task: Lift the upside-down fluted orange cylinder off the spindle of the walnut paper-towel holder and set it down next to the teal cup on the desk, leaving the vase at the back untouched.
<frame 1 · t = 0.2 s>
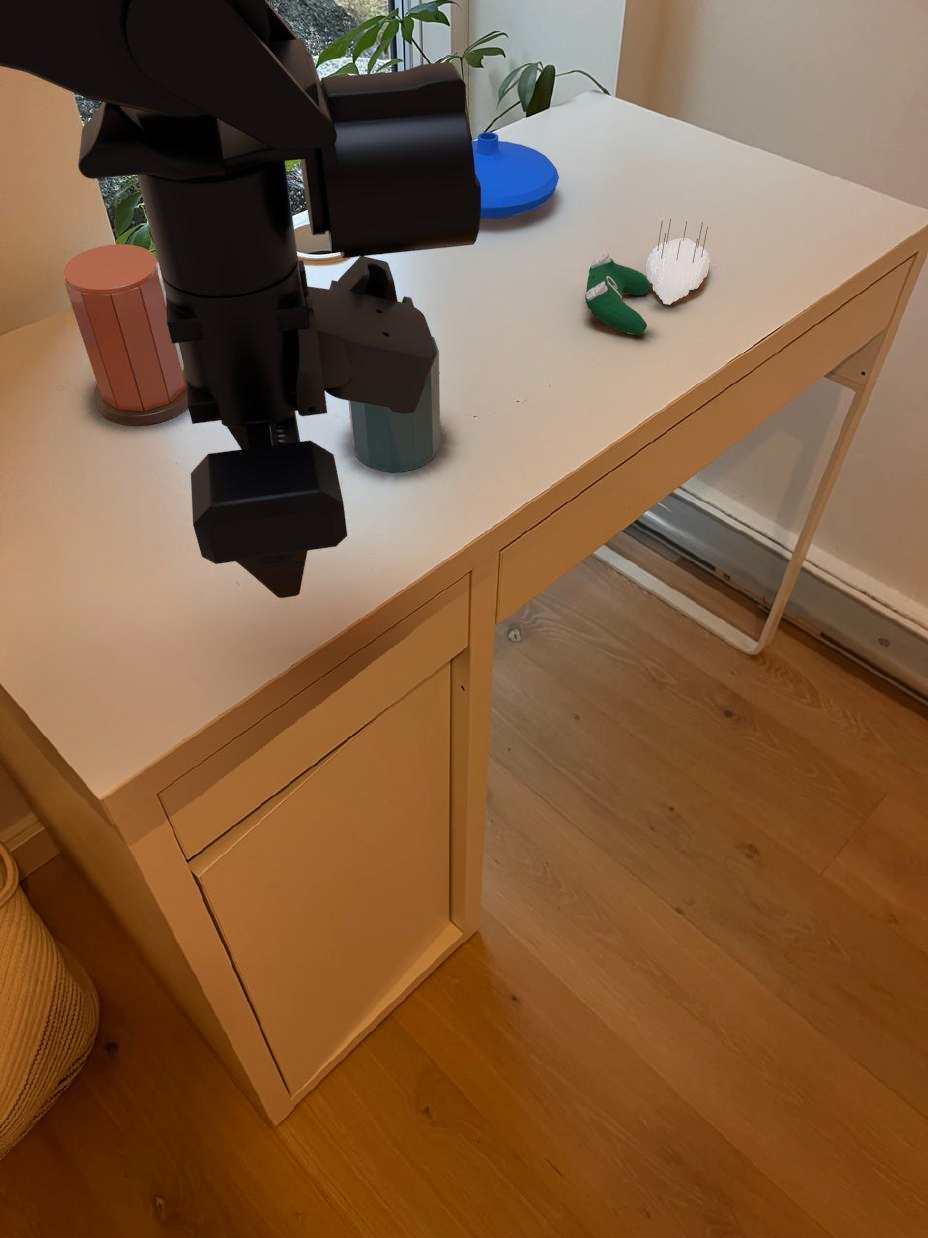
hand: (280, 534, 53), 14 cm above the table, tool pointing down, fingers open, 9 cm apart
teal cup: (396, 444, 80), on the table
towel holder: (147, 396, 84), on the table
pincushion: (675, 279, 98), on the table
vase: (486, 203, 109), on the table
green christmas stockings: (615, 313, 94), on the table
fluted orange cylinder: (144, 386, 83), point 1 cm above the table, touching towel holder
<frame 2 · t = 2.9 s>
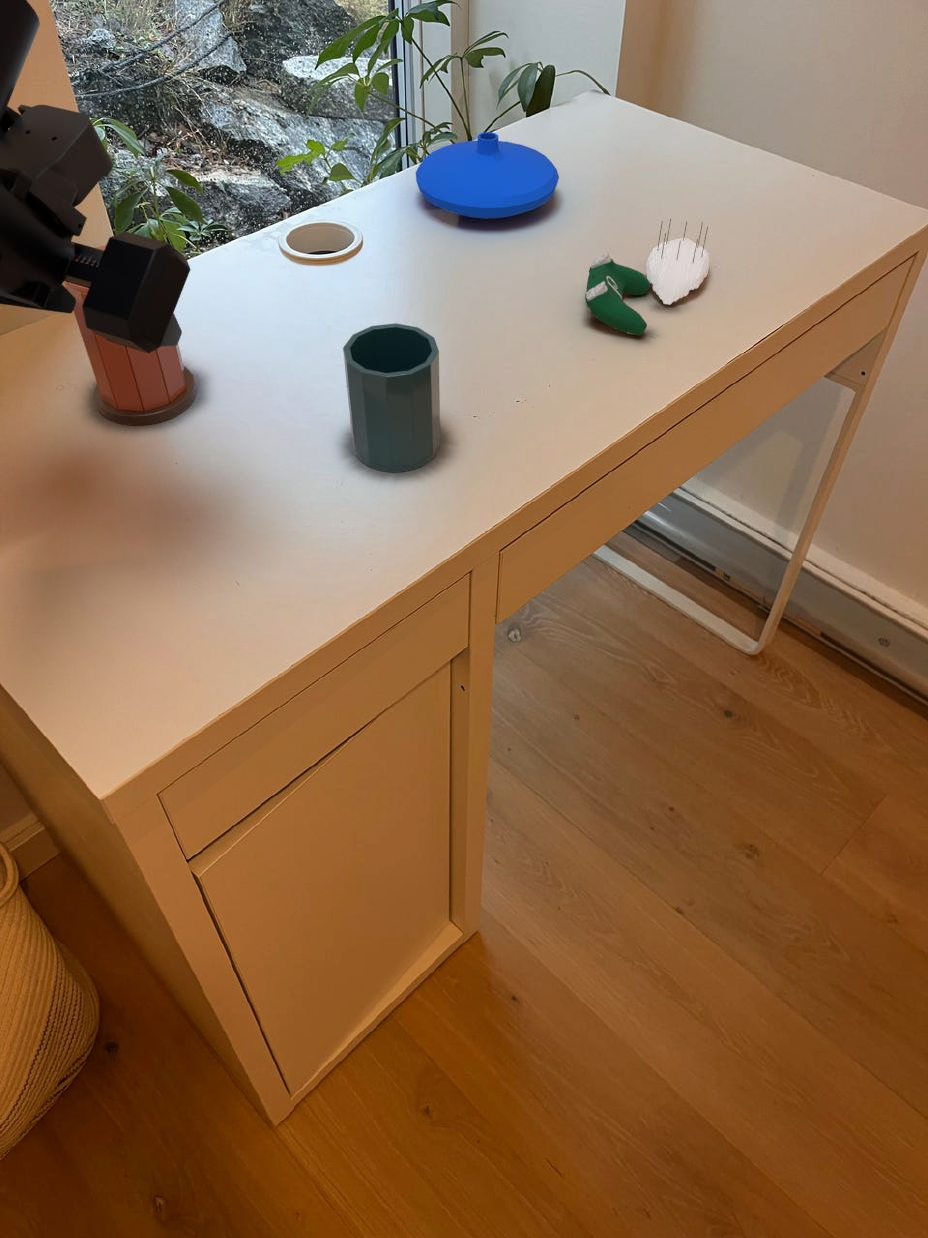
hand: (124, 321, 68), 13 cm above the table, tool tilted 35°, fingers open, 9 cm apart
nothing on the table moved.
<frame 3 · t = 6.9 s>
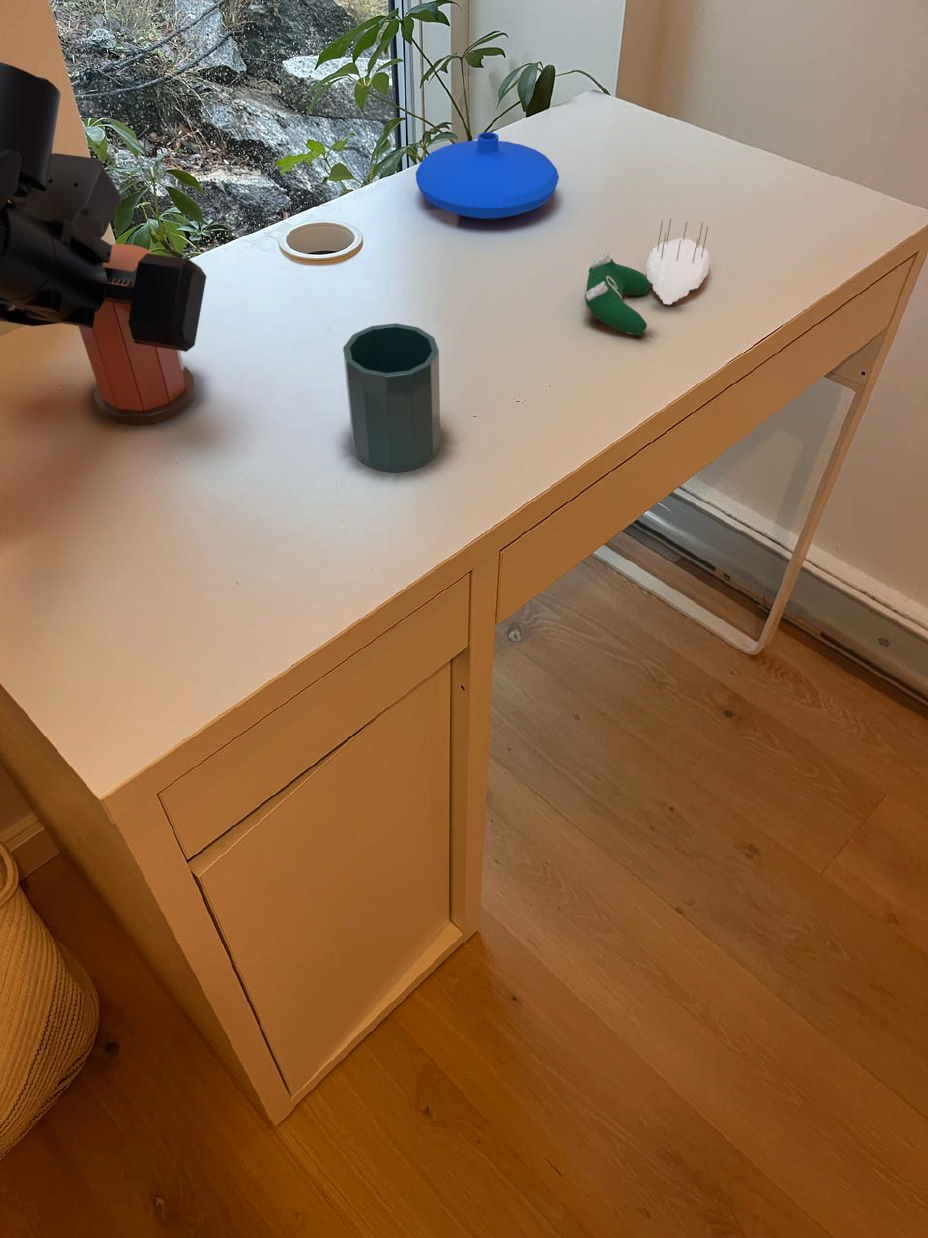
hand: (136, 319, 80), 7 cm above the table, tool tilted 45°, fingers closed on fluted orange cylinder, 7 cm apart
fluted orange cylinder: (144, 386, 83), point 1 cm above the table, touching gripper, towel holder
everything else where it was.
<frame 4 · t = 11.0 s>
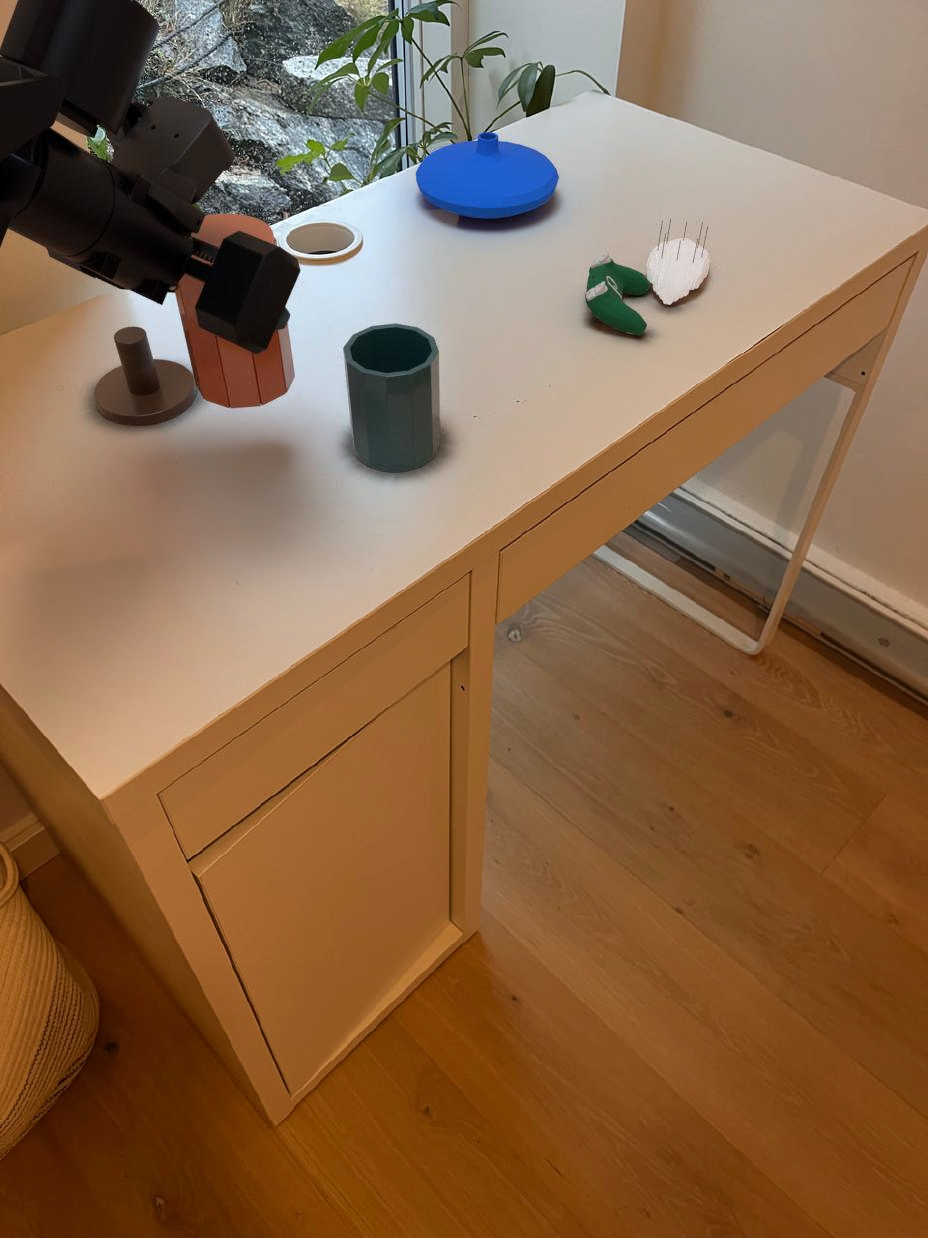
hand: (247, 303, 69), 13 cm above the table, tool tilted 45°, fingers closed on fluted orange cylinder, 7 cm apart
fluted orange cylinder: (245, 379, 72), point 8 cm above the table, touching gripper
everything else where it was.
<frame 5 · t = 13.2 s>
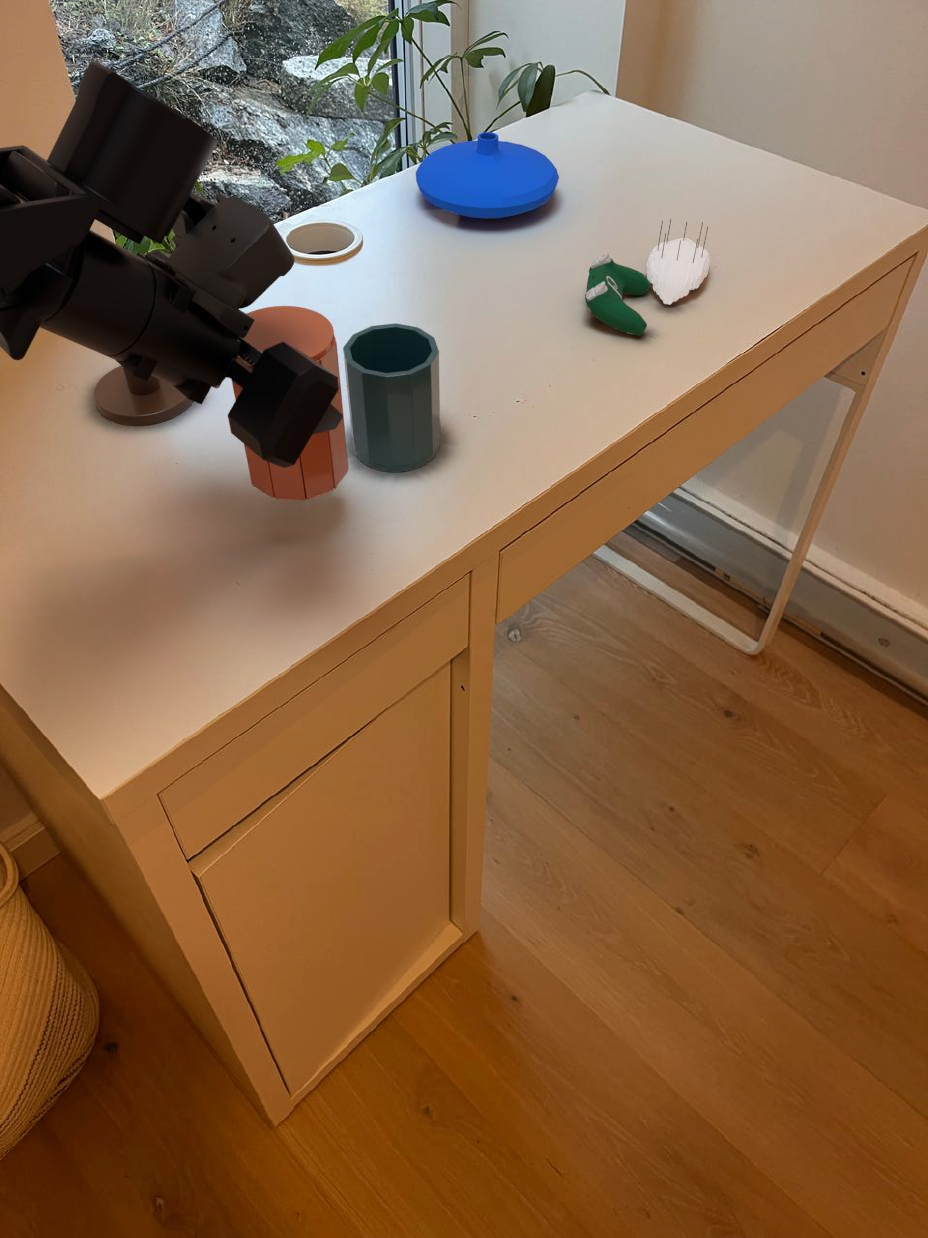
hand: (306, 396, 67), 10 cm above the table, tool tilted 45°, fingers closed on fluted orange cylinder, 7 cm apart
fluted orange cylinder: (298, 468, 71), point 4 cm above the table, touching gripper
everything else where it was.
when the fingers open (6 cm above the table, at t = 15.2 s): fluted orange cylinder stays where it is, on the table.
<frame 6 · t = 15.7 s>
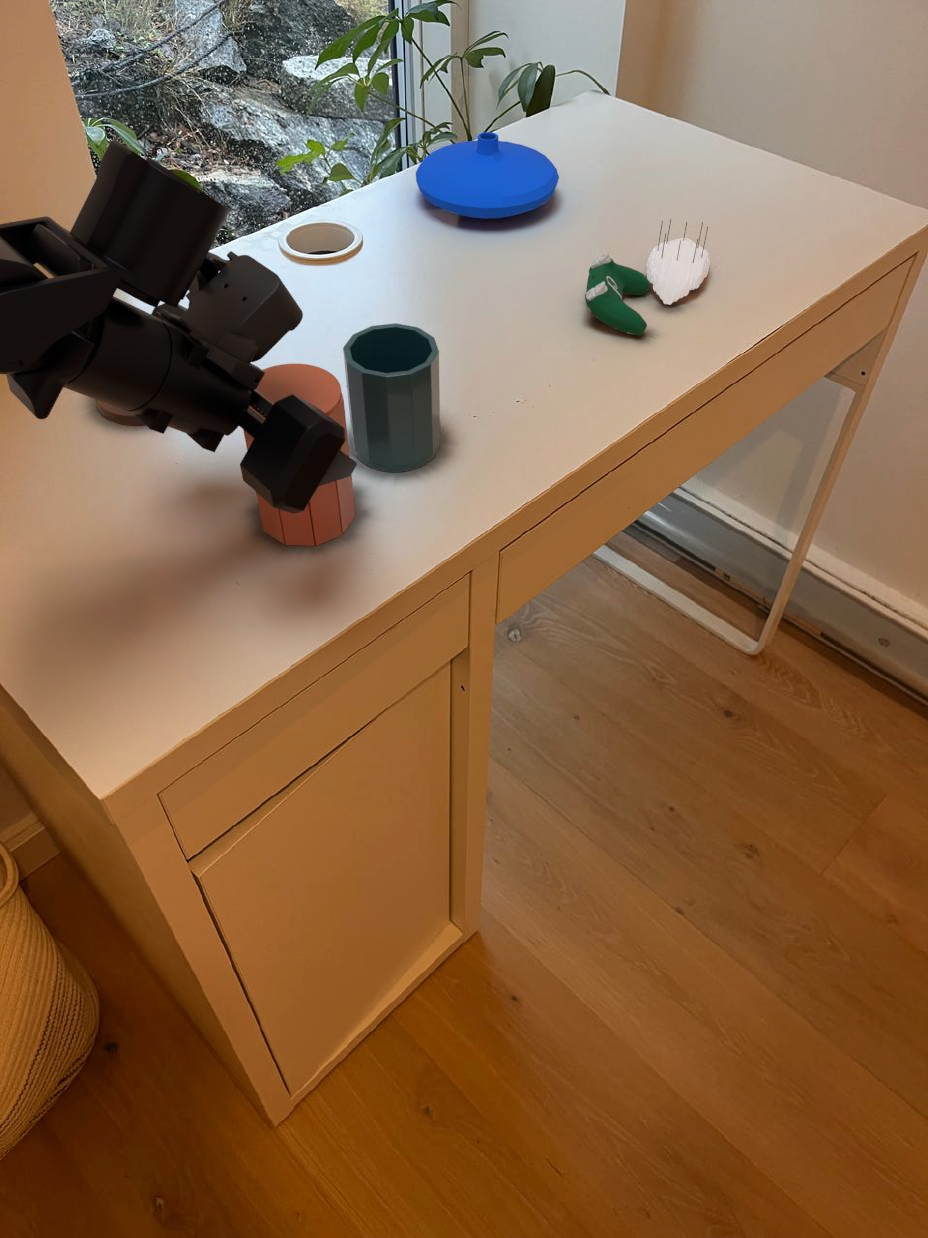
hand: (313, 438, 70), 6 cm above the table, tool tilted 45°, fingers open, 9 cm apart
fluted orange cylinder: (307, 513, 74), on the table
everything else where it was.
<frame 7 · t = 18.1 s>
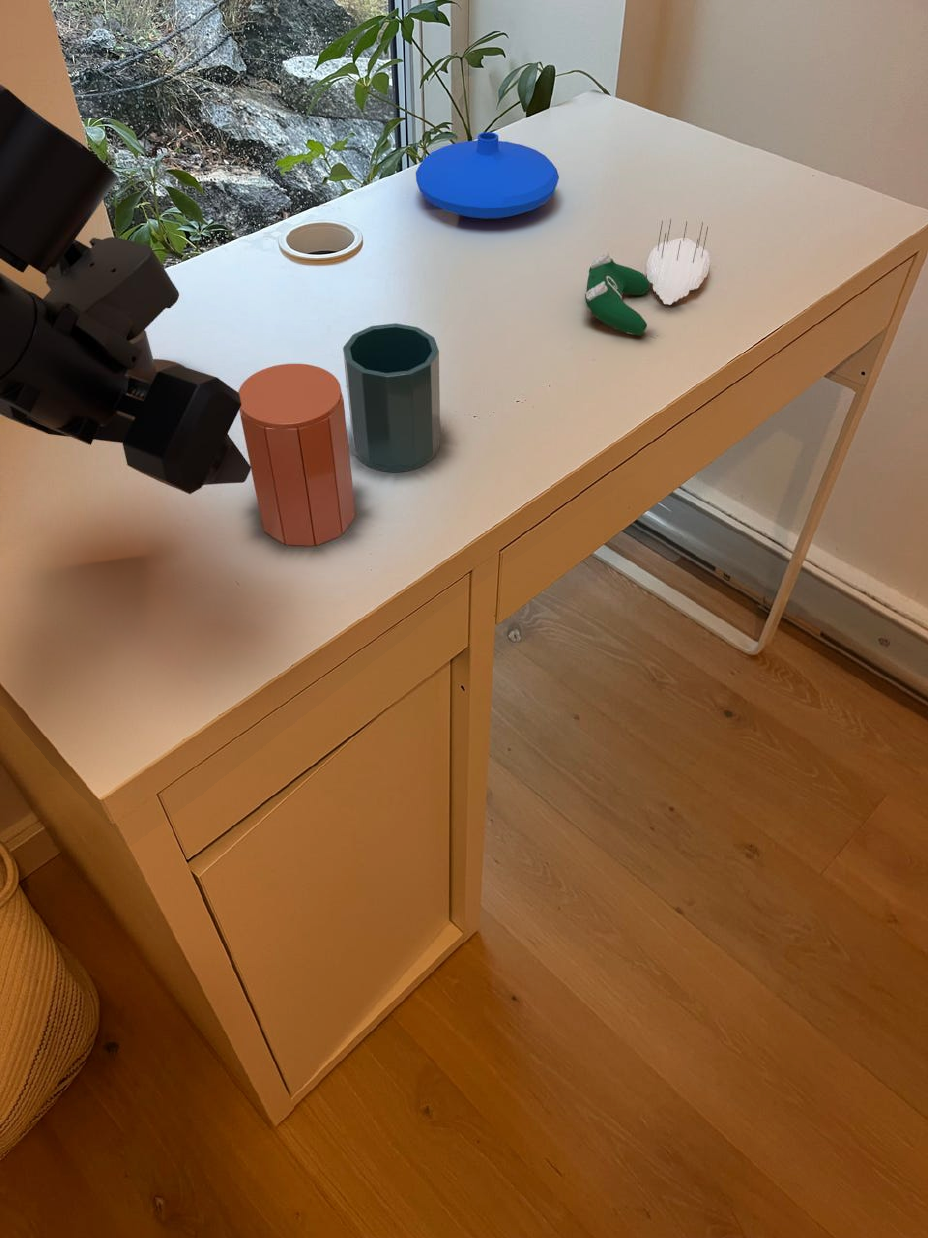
hand: (198, 455, 64), 9 cm above the table, tool tilted 35°, fingers open, 9 cm apart
nothing on the table moved.
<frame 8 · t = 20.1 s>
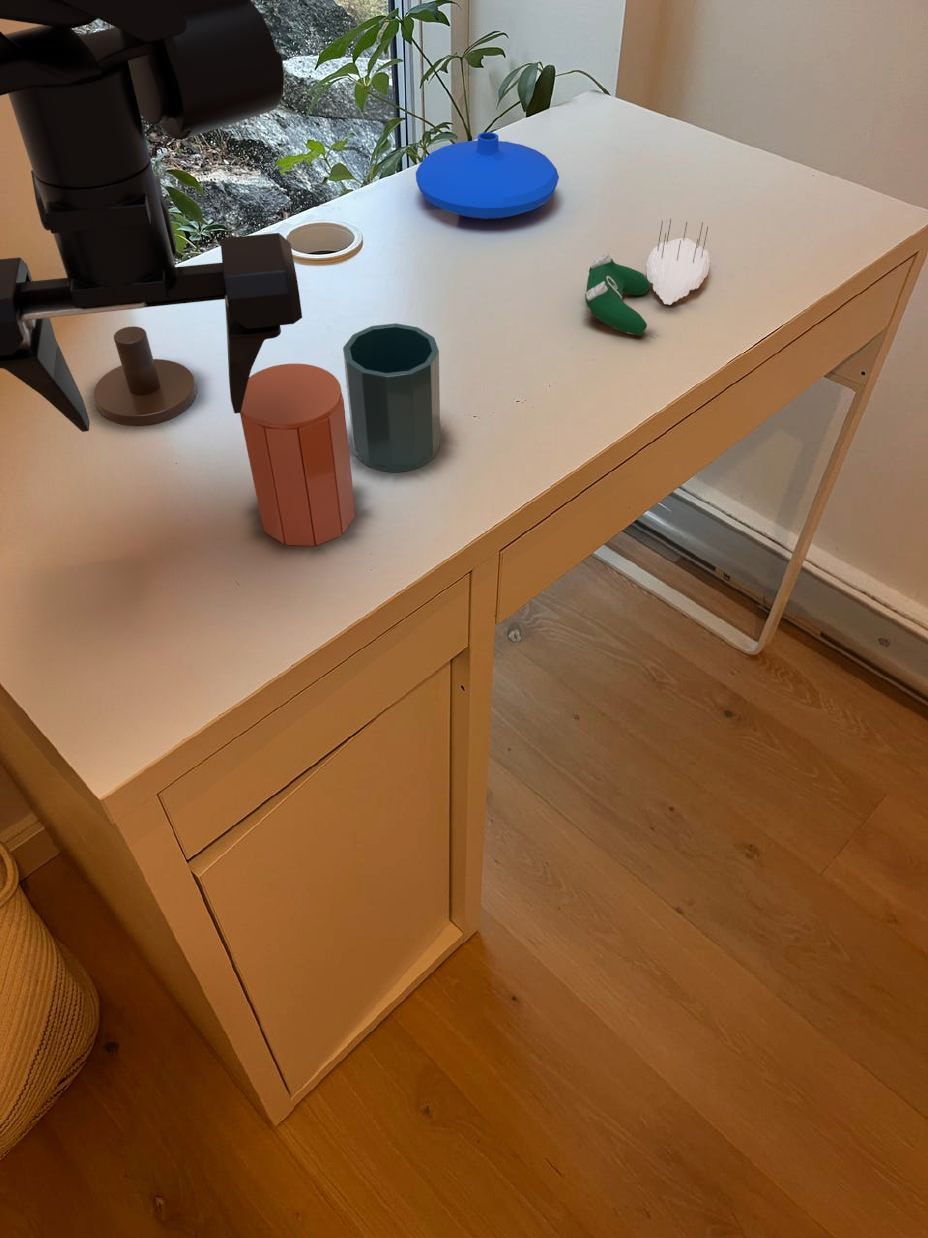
hand: (162, 418, 61), 13 cm above the table, tool pointing down, fingers open, 9 cm apart
nothing on the table moved.
at the end: fluted orange cylinder 10.6 cm from the teal cup (horizontally); fluted orange cylinder tilted 0°; vase moved 0.2 cm from its start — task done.
